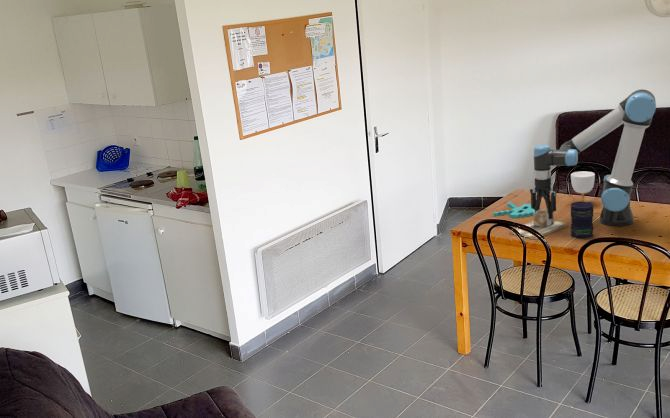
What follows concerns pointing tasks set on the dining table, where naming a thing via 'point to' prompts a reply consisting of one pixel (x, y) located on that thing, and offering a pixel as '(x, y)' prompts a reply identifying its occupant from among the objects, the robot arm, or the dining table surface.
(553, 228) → the board
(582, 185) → the cup
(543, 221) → the block
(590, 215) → the storage jar
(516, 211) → the alien figure
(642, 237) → the dining table surface
